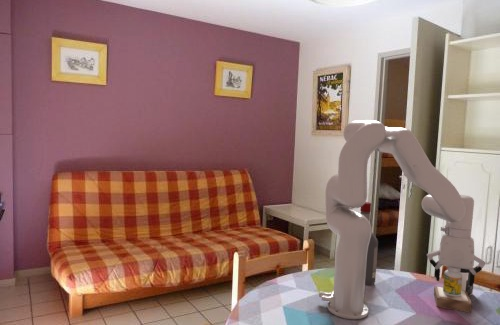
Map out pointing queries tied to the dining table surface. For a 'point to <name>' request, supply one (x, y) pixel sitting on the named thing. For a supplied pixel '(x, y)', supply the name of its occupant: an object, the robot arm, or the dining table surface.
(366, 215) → the liquor
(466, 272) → the medicine bottle
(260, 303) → the dining table surface
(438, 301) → the coaster block
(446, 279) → the supplement bottle
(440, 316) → the dining table surface
